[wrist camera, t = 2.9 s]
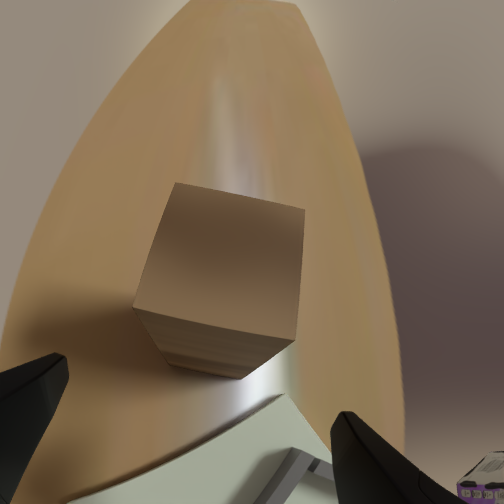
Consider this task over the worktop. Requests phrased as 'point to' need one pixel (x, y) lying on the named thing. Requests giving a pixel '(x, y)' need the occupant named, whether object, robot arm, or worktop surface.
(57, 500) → the worktop surface
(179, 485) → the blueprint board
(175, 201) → the walnut column
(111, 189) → the worktop surface
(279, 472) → the socket
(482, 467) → the candy box
